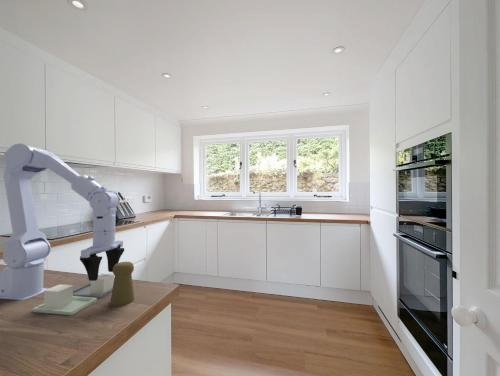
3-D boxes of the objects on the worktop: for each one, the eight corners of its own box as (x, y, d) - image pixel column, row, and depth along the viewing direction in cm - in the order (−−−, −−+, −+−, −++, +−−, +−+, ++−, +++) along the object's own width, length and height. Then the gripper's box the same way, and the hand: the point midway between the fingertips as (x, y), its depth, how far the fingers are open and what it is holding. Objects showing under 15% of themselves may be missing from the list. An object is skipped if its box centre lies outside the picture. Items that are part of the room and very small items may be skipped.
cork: (123, 308, 61) (125, 266, 62) (104, 306, 62) (105, 264, 63) (139, 299, 67) (140, 260, 67) (121, 296, 68) (122, 259, 69)
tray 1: (32, 313, 58) (32, 308, 58) (62, 299, 66) (62, 295, 66) (71, 317, 57) (71, 312, 57) (96, 302, 65) (97, 297, 65)
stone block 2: (90, 294, 69) (91, 278, 69) (101, 288, 73) (101, 274, 73) (103, 295, 68) (103, 279, 68) (113, 289, 72) (114, 274, 73)
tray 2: (65, 297, 67) (65, 293, 67) (90, 286, 76) (90, 282, 76) (99, 300, 66) (99, 296, 66) (121, 288, 75) (121, 284, 75)
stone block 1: (43, 308, 60) (44, 290, 60) (59, 300, 64) (59, 284, 64) (58, 309, 59) (58, 291, 60) (72, 302, 64) (73, 285, 64)
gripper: (97, 234, 63) (96, 285, 63) (131, 227, 78) (130, 268, 77) (74, 234, 64) (73, 284, 64) (112, 227, 79) (111, 267, 78)
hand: (103, 275), depth 71 cm, fingers open, 7 cm apart
